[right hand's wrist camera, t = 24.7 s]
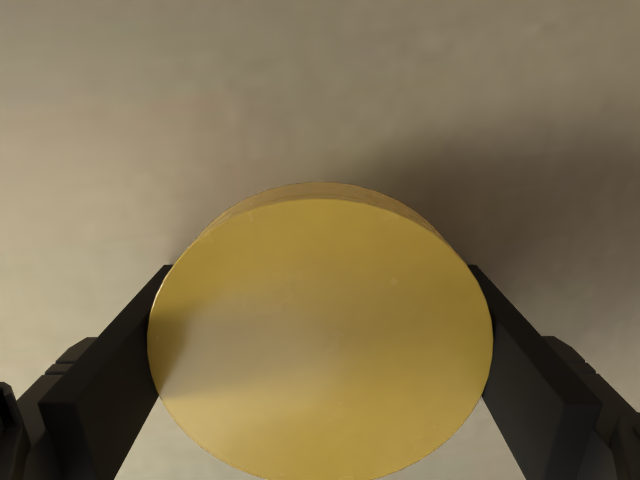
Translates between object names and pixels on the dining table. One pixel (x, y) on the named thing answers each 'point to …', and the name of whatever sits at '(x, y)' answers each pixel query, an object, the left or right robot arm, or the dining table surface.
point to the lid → (320, 335)
